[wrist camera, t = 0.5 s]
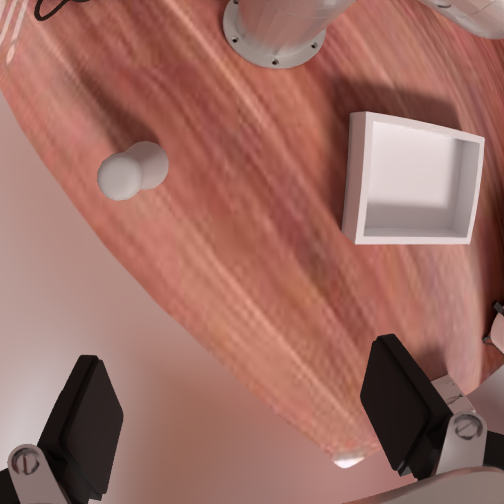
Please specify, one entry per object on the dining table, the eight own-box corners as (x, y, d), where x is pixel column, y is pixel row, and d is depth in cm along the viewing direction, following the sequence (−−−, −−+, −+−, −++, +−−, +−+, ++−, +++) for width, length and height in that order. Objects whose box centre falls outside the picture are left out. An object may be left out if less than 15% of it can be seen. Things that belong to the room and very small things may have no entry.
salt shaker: (181, 162, 38) (162, 178, 26) (150, 195, 39) (119, 225, 27) (148, 130, 36) (115, 131, 24) (118, 164, 37) (75, 180, 25)
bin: (349, 112, 37) (366, 111, 32) (463, 134, 39) (484, 137, 34) (341, 231, 43) (354, 244, 38) (451, 233, 45) (469, 244, 40)
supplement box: (448, 372, 57) (477, 409, 45) (441, 394, 60) (466, 430, 48) (422, 383, 57) (449, 423, 45) (415, 404, 60) (439, 443, 48)
